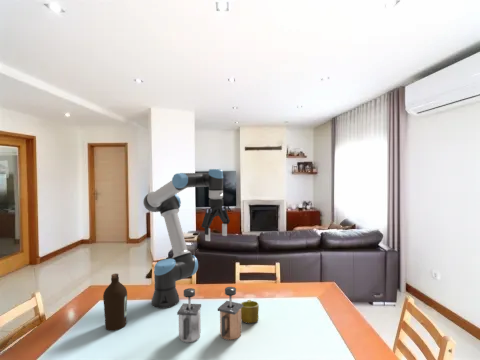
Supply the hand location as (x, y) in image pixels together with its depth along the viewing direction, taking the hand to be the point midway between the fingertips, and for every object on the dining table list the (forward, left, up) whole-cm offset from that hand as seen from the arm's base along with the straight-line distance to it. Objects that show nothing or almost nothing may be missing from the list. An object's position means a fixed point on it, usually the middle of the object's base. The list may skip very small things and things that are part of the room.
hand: (216, 238), depth 153 cm
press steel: (+7, -27, -39) cm, 48 cm away
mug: (+19, +3, -39) cm, 43 cm away
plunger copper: (+20, -14, -36) cm, 43 cm away
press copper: (+20, -15, -39) cm, 46 cm away
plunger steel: (+6, -26, -36) cm, 45 cm away
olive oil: (-30, -40, -39) cm, 63 cm away
